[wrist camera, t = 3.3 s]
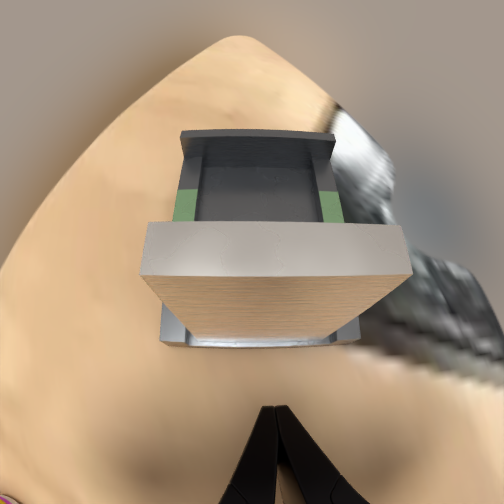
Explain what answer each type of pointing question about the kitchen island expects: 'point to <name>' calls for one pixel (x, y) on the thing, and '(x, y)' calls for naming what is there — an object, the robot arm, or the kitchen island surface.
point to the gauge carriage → (271, 275)
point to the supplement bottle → (7, 500)
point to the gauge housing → (256, 199)
